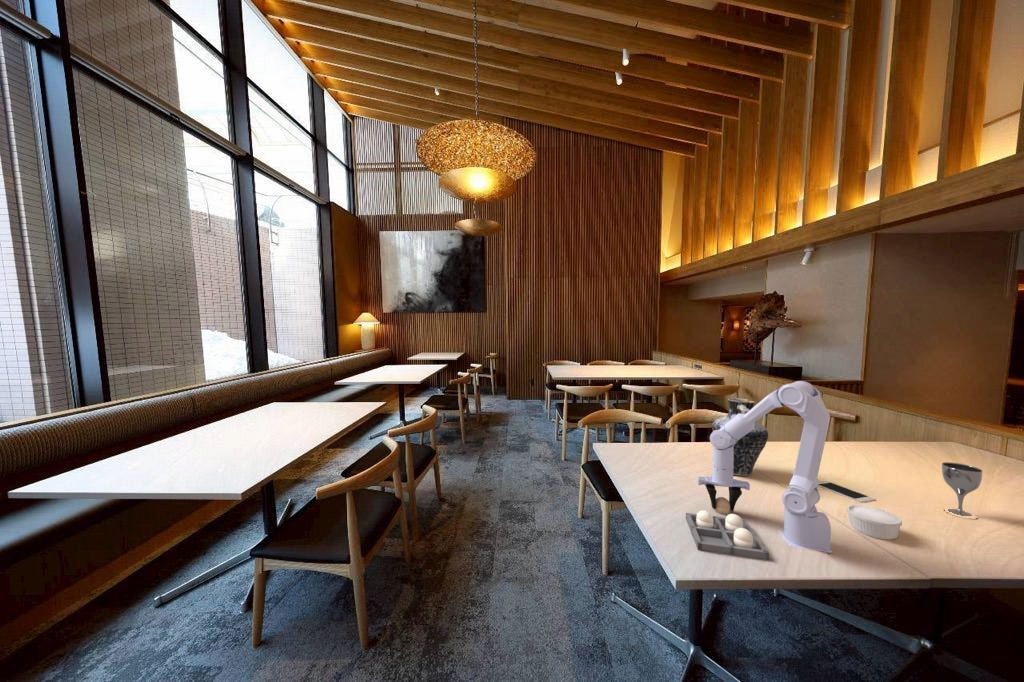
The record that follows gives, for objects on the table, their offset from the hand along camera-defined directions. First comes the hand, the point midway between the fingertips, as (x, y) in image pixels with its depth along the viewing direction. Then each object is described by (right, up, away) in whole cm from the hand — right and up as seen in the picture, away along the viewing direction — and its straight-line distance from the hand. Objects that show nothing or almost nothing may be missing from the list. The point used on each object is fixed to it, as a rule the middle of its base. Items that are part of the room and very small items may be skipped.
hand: (722, 508), depth 115 cm
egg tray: (-8, -2, -14) cm, 17 cm away
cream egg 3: (-6, -2, -19) cm, 20 cm away
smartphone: (+52, -1, +14) cm, 54 cm away
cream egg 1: (-11, -1, -10) cm, 15 cm away
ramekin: (+37, -2, -11) cm, 39 cm away
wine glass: (+74, -1, -1) cm, 74 cm away
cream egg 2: (-4, -1, -12) cm, 12 cm away
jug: (+26, 0, +32) cm, 41 cm away
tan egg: (0, -1, 0) cm, 1 cm away
